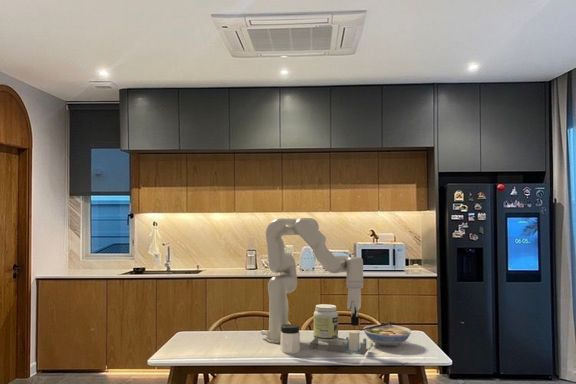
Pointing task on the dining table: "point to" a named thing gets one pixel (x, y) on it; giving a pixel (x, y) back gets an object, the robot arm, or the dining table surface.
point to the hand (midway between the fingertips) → (355, 325)
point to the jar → (290, 338)
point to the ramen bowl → (387, 334)
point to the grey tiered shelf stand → (337, 346)
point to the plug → (353, 340)
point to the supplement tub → (325, 322)
